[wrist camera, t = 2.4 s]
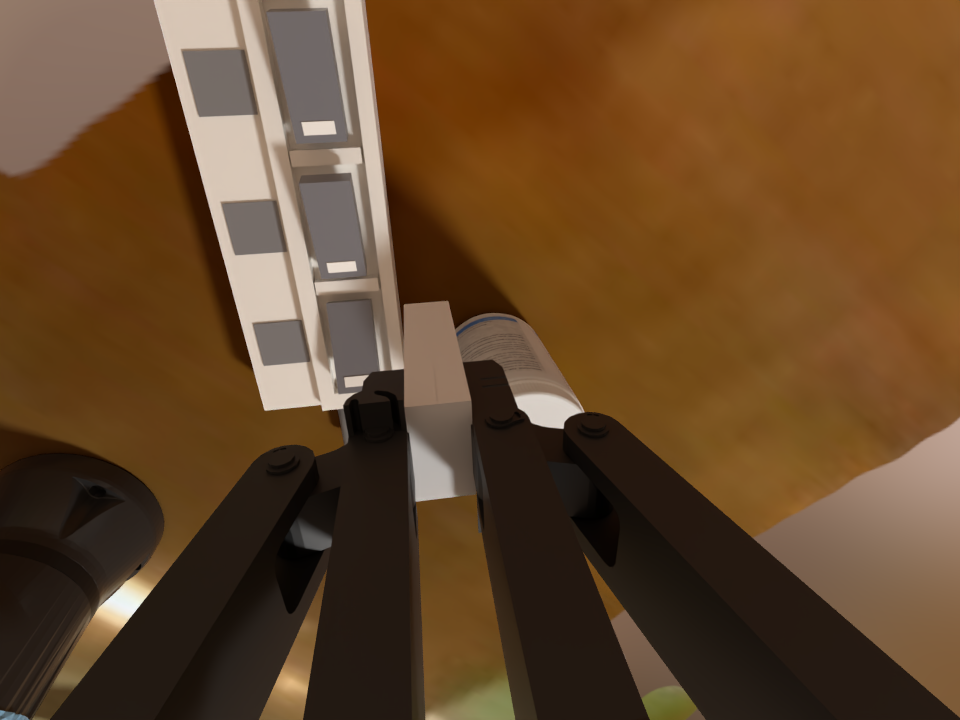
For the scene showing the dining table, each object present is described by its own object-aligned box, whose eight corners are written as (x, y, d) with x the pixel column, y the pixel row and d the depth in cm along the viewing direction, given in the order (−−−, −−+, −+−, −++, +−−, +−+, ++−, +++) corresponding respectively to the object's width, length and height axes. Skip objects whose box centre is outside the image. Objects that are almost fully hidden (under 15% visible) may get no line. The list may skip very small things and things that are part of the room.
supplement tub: (422, 376, 48) (430, 478, 35) (472, 291, 44) (501, 367, 31) (509, 413, 51) (546, 519, 38) (560, 336, 48) (620, 422, 35)
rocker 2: (323, 269, 37) (321, 279, 36) (301, 175, 33) (298, 184, 32) (367, 266, 38) (366, 276, 37) (351, 172, 33) (350, 181, 32)
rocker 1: (299, 137, 33) (296, 144, 32) (270, 8, 29) (265, 12, 28) (348, 134, 34) (347, 141, 33) (327, 7, 29) (325, 11, 28)
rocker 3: (341, 389, 40) (338, 394, 39) (329, 301, 39) (325, 303, 37) (381, 385, 41) (380, 390, 39) (371, 298, 39) (369, 300, 38)
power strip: (288, 441, 49) (277, 474, 44) (172, -19, 32) (136, -39, 28) (414, 427, 50) (416, 458, 46) (363, -22, 34) (358, -41, 29)
